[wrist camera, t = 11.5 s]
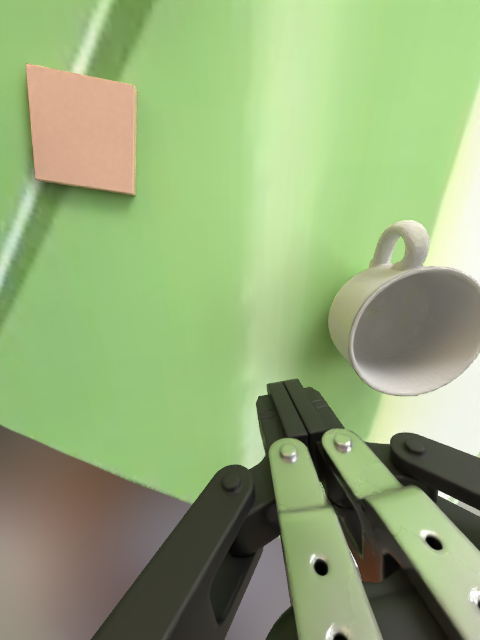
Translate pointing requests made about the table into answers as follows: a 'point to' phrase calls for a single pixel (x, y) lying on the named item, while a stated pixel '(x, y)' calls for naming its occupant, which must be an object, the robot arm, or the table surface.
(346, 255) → the table surface
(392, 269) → the teacup
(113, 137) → the sticky note pad
